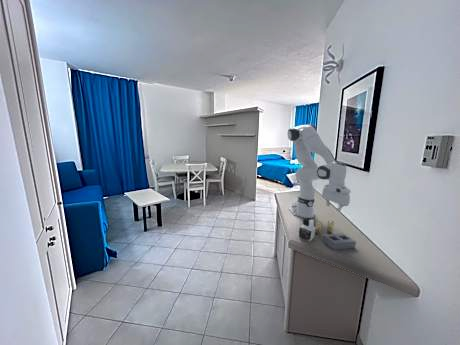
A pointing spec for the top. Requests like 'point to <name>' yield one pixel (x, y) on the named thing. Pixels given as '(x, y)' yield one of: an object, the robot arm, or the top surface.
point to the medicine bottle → (307, 229)
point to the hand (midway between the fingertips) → (333, 208)
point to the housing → (339, 241)
